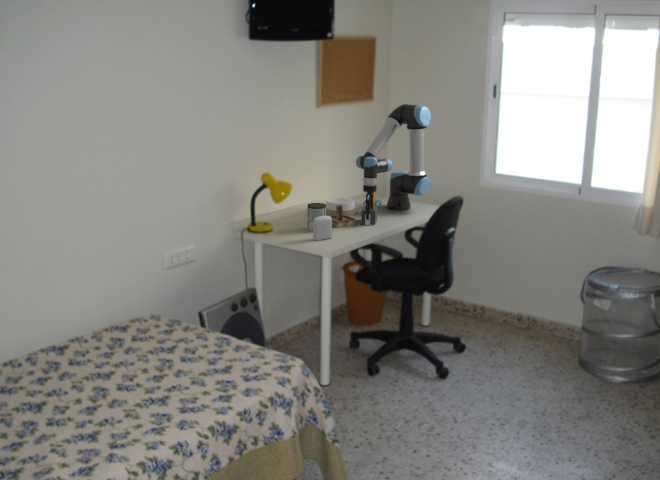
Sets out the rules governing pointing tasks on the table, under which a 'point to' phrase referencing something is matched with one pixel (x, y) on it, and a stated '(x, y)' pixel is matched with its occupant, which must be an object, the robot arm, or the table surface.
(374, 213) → the hollow dark grey cube
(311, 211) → the coffee can
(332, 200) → the bowl
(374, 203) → the orange tube with rings
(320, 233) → the photo printer
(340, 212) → the plate
